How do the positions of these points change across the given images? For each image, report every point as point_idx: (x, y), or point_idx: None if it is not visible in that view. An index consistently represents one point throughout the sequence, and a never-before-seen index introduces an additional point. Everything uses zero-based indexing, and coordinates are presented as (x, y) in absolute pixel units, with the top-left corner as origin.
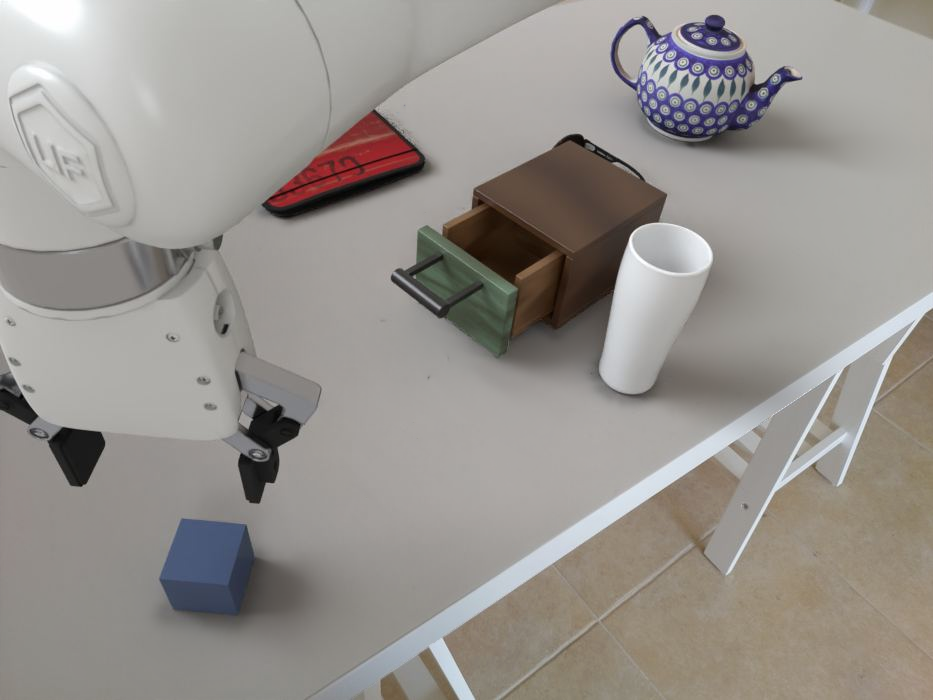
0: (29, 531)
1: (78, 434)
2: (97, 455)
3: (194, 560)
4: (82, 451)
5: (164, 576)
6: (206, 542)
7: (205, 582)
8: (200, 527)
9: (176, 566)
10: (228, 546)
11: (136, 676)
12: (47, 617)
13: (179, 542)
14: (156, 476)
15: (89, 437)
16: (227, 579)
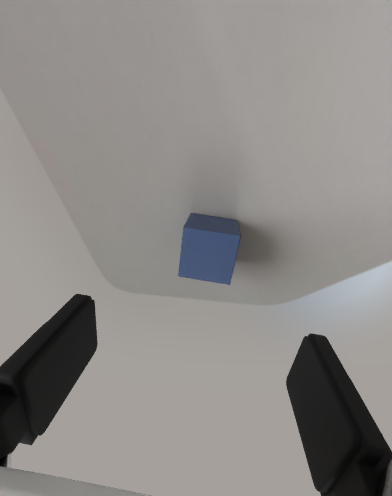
0: (70, 191)
1: (48, 393)
2: (91, 321)
3: (201, 265)
4: (70, 369)
5: (182, 275)
6: (208, 250)
7: (212, 281)
8: (201, 236)
9: (189, 268)
10: (227, 255)
11: (174, 289)
12: (111, 253)
13: (187, 249)
14: (144, 138)
15: (67, 353)
16: (229, 281)
